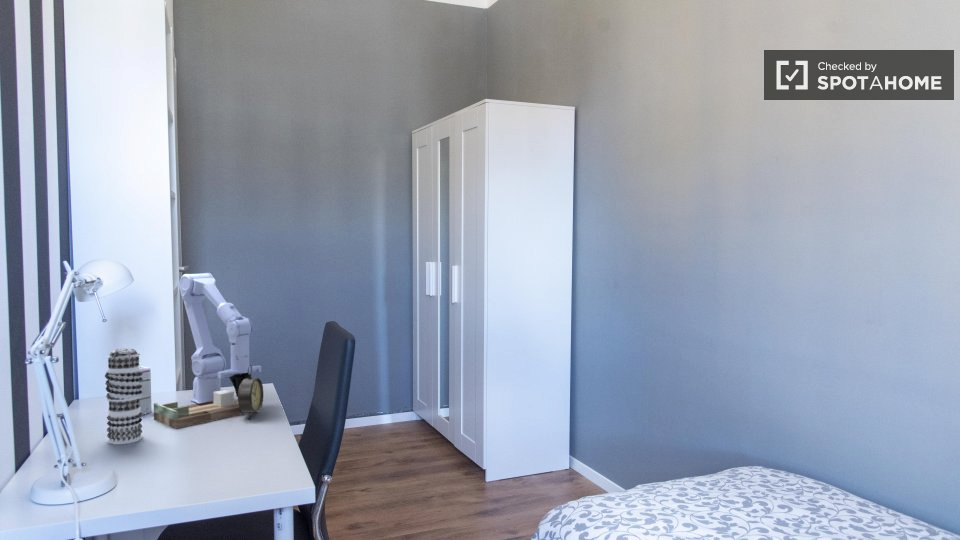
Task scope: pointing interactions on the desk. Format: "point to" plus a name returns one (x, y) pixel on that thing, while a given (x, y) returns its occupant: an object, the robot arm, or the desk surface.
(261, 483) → the desk surface
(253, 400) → the alarm clock
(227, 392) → the white block
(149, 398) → the syrup box
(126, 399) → the decorative candle
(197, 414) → the trap board
